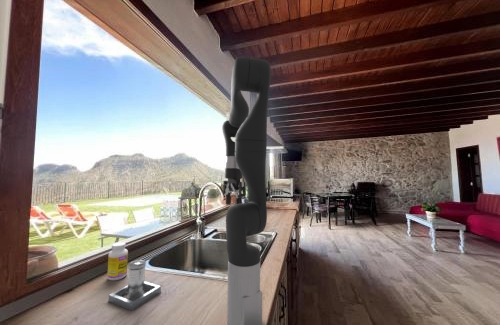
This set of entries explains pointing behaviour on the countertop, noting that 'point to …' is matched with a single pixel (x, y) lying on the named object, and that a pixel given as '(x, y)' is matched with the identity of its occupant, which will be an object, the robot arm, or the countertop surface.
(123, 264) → the supplement bottle
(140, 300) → the collar
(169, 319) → the countertop surface
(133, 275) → the lidded metal canister
